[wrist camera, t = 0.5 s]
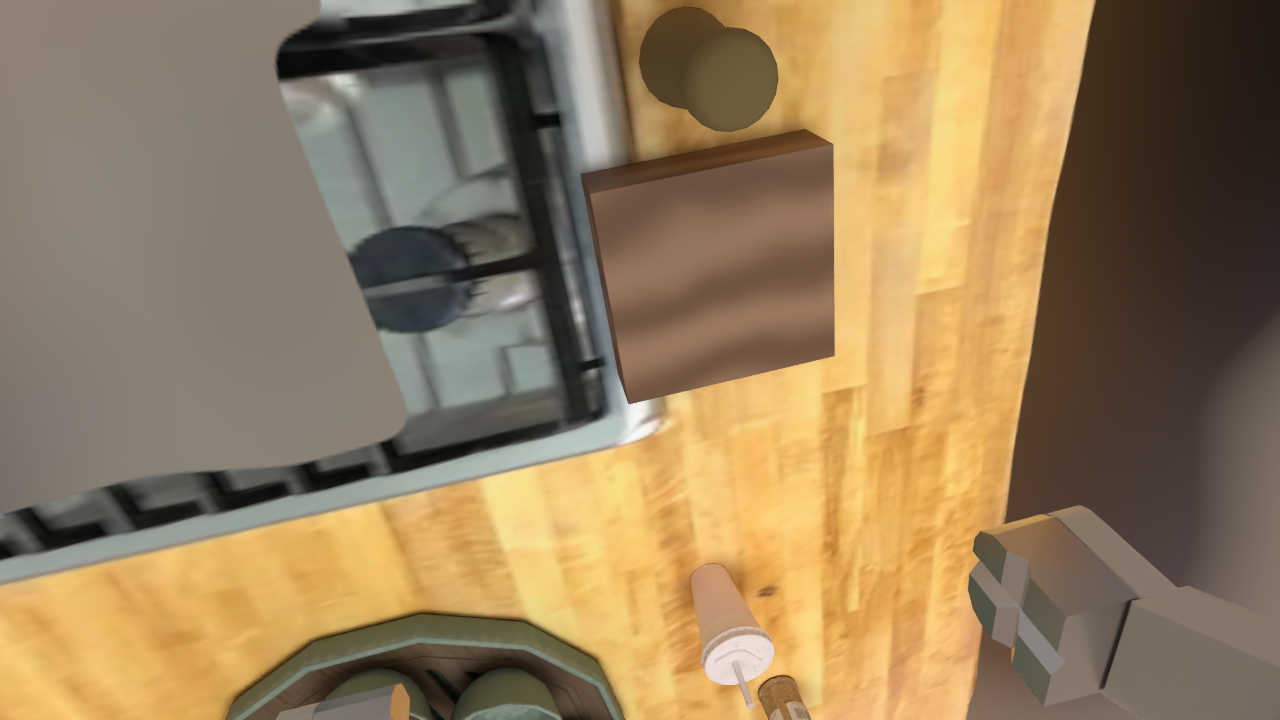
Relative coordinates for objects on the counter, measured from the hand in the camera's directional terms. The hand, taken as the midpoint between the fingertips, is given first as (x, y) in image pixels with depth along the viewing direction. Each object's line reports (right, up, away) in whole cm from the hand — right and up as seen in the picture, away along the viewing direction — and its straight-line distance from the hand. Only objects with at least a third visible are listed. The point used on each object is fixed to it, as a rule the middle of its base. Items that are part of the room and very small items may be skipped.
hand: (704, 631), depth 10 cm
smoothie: (+6, -17, +60) cm, 63 cm away
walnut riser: (+4, +11, +44) cm, 46 cm away
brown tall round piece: (+2, +23, +37) cm, 43 cm away
